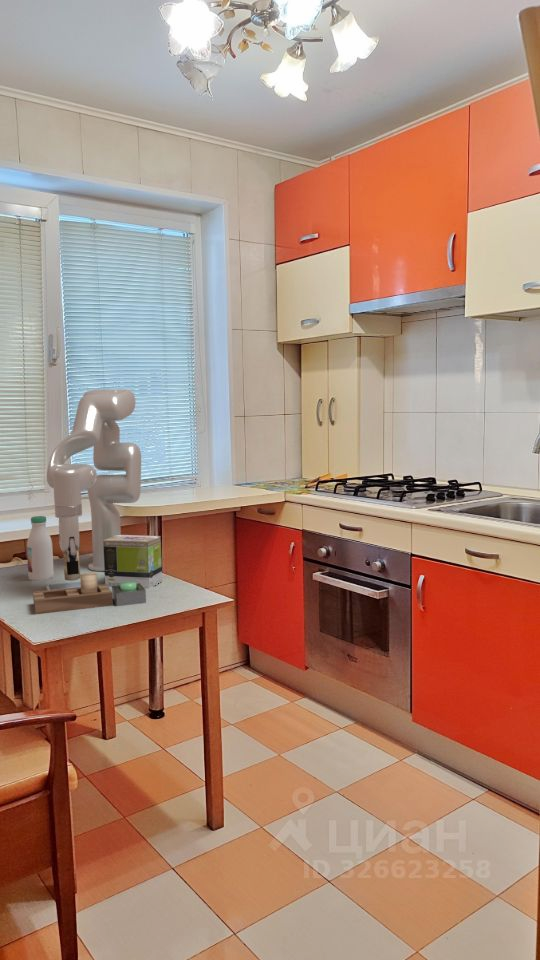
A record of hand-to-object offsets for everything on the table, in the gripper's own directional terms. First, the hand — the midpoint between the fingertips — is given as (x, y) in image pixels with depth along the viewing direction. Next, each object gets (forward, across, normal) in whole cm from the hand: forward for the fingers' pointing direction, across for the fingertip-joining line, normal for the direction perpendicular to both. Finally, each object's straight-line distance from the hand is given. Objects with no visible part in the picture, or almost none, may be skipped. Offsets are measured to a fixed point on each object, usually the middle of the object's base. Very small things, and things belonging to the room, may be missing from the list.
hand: (72, 571), depth 206 cm
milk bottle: (+8, -22, -8) cm, 24 cm away
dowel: (+2, 0, 0) cm, 2 cm away
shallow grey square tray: (+7, +1, -1) cm, 7 cm away
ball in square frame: (+6, +16, +13) cm, 22 cm away
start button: (+4, +16, +13) cm, 21 cm away
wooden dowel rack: (+6, +14, -2) cm, 16 cm away
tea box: (+7, -3, +18) cm, 20 cm away
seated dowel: (+6, +14, +3) cm, 16 cm away
